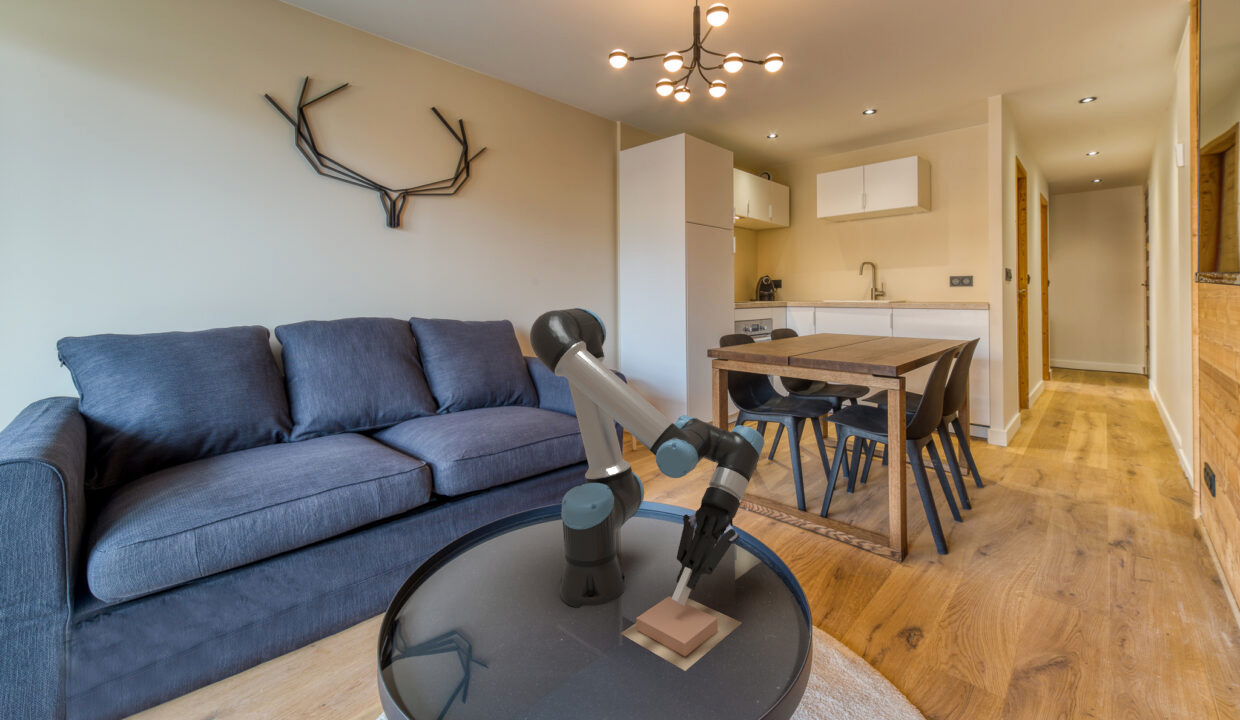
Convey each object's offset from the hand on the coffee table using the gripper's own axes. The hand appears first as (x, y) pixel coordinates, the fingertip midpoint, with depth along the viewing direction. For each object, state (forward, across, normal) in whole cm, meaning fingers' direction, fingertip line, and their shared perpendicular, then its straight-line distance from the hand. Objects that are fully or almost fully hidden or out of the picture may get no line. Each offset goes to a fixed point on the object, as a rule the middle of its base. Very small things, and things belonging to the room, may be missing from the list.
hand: (677, 602), depth 104 cm
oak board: (+4, 0, -5) cm, 7 cm away
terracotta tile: (0, 0, -6) cm, 6 cm away
